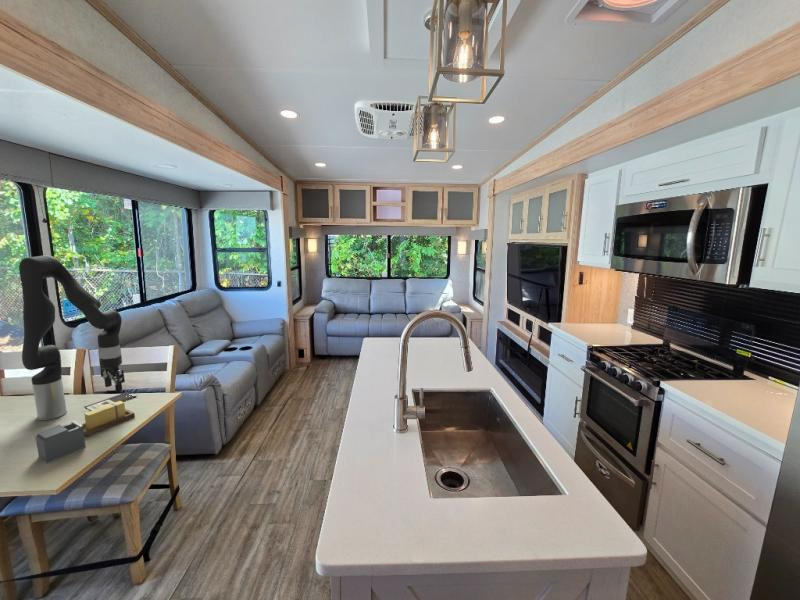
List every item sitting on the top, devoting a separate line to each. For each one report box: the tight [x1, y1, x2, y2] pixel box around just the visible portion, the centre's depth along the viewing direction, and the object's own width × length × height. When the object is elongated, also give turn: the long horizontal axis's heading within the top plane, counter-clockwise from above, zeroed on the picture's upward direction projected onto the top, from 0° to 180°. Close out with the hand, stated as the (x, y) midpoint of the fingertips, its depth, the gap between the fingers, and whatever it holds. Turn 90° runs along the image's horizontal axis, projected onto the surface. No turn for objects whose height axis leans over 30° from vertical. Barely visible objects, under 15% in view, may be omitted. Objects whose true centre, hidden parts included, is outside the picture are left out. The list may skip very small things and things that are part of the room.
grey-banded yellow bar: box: [83, 401, 126, 430], centre depth 147 cm, size 4×13×7 cm, turn 155°
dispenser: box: [34, 420, 87, 464], centre depth 127 cm, size 7×11×10 cm, turn 155°
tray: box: [76, 408, 136, 438], centre depth 147 cm, size 8×18×2 cm, turn 155°
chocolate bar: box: [84, 391, 137, 411], centre depth 166 cm, size 9×1×18 cm
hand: (113, 388), depth 148 cm, fingers open, 8 cm apart
